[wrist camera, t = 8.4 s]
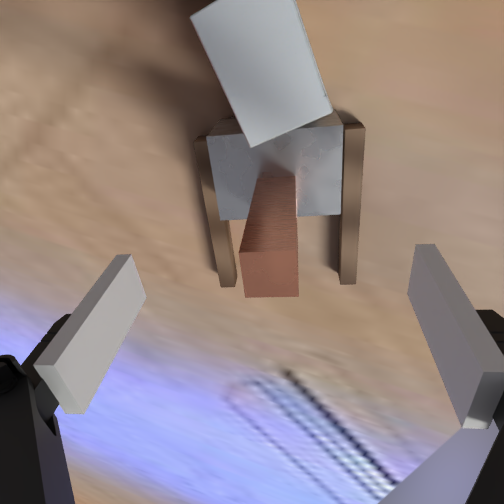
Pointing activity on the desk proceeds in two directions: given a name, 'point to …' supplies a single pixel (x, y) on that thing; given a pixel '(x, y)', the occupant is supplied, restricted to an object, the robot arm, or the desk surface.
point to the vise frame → (348, 216)
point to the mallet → (276, 194)
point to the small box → (263, 65)
